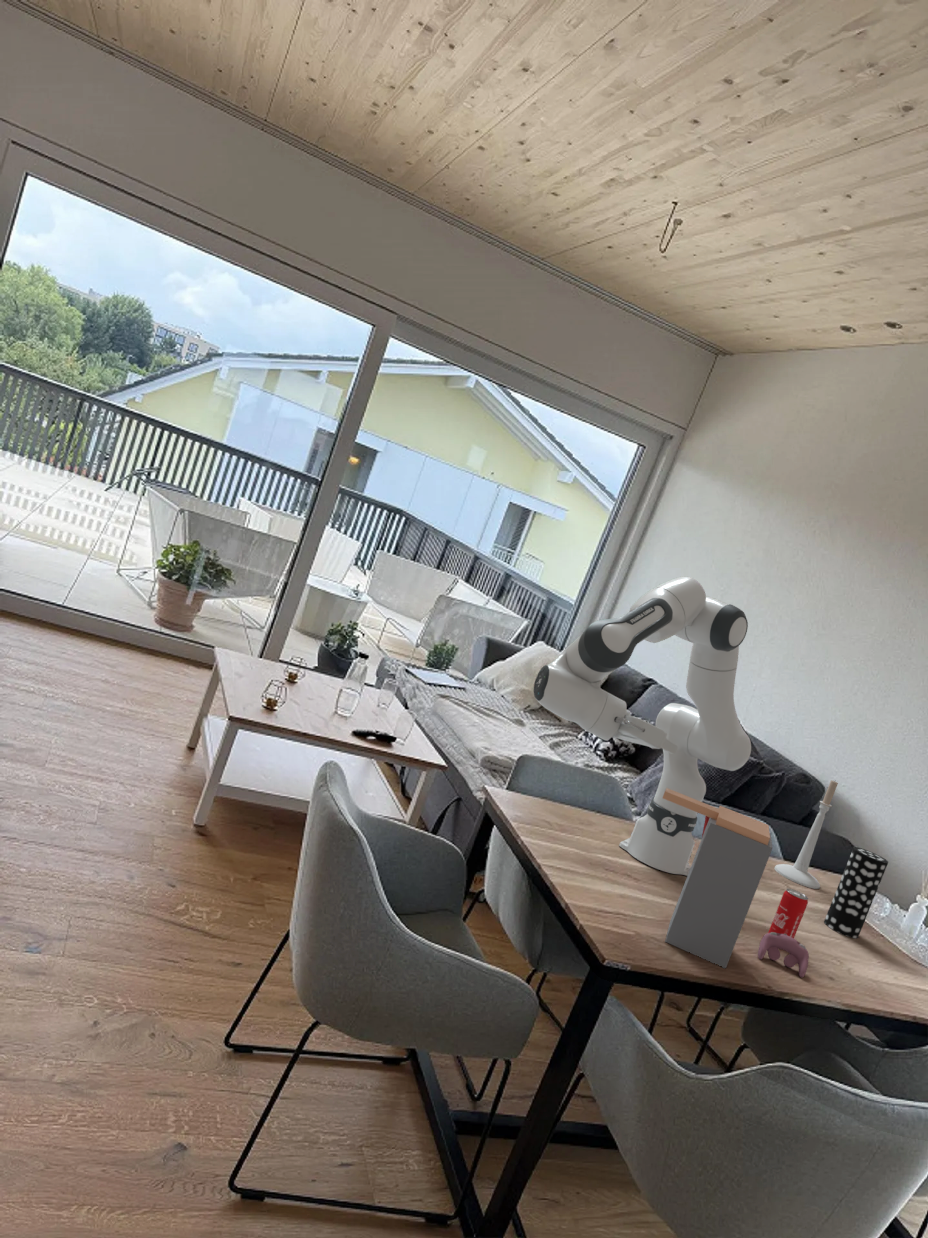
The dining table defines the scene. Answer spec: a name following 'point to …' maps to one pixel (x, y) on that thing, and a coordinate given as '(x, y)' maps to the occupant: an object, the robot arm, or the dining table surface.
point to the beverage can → (789, 913)
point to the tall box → (717, 893)
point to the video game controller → (789, 944)
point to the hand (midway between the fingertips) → (665, 748)
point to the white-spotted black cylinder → (855, 892)
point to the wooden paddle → (723, 817)
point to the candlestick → (808, 847)
